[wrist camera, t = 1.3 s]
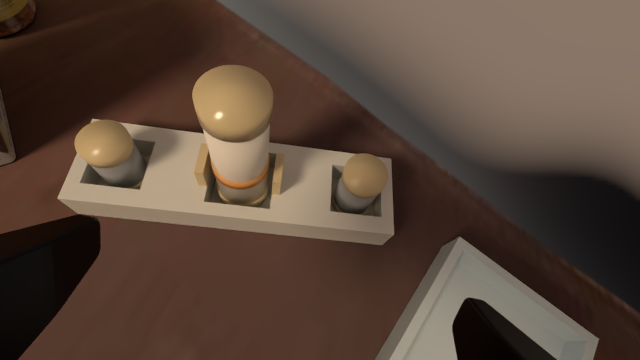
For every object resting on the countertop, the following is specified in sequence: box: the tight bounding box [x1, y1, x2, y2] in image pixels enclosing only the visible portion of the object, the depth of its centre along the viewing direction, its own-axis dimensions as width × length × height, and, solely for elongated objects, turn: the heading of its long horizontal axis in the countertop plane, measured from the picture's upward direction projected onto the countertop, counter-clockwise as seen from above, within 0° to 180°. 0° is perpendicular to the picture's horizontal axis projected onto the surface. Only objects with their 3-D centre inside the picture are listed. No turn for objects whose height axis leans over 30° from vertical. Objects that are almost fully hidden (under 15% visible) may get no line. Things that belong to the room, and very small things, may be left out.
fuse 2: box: [331, 153, 388, 215], centre depth 23 cm, size 3×3×4 cm
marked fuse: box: [192, 65, 273, 208], centre depth 19 cm, size 3×3×10 cm
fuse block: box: [57, 119, 394, 245], centre depth 22 cm, size 6×20×4 cm, turn 87°
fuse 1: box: [75, 120, 148, 190], centre depth 21 cm, size 3×3×4 cm
